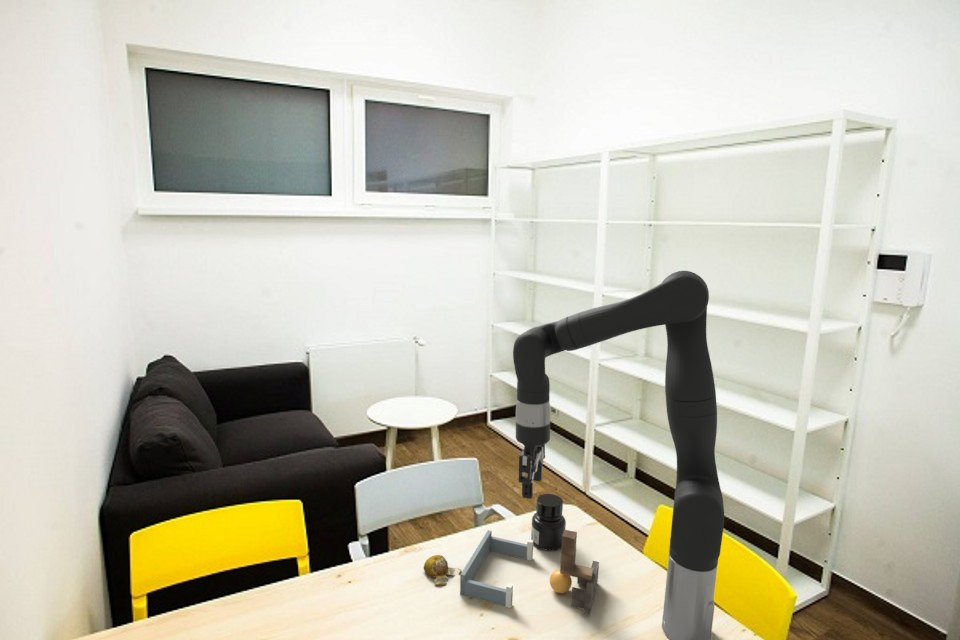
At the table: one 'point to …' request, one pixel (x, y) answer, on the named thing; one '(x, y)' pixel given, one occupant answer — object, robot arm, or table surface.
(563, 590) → the ball
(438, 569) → the fruit
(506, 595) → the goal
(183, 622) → the table surface
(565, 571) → the kicker
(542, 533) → the ink bottle
